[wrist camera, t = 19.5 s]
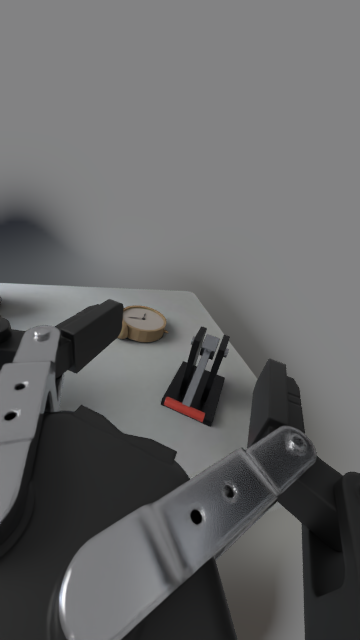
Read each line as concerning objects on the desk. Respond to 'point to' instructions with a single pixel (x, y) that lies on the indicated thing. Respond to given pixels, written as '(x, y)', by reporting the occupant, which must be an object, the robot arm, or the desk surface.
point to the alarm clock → (142, 324)
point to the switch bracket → (208, 384)
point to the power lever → (195, 381)
